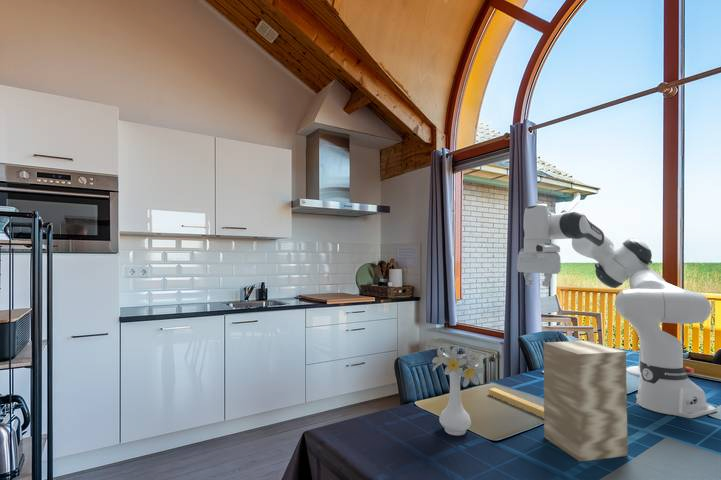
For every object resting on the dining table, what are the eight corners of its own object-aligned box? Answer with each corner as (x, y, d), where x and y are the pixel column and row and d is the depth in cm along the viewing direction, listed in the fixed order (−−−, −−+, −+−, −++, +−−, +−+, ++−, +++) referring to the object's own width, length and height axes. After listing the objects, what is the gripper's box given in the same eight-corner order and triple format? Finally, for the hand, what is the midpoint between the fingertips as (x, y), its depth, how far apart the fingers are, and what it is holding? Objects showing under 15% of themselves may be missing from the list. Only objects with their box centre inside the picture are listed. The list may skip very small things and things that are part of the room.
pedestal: (587, 432, 113) (586, 340, 113) (627, 455, 100) (625, 351, 101) (544, 437, 110) (543, 342, 110) (579, 461, 97) (578, 354, 98)
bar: (494, 394, 144) (494, 387, 144) (553, 419, 123) (553, 411, 123) (488, 395, 142) (488, 388, 143) (547, 421, 121) (547, 413, 121)
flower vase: (462, 450, 102) (461, 357, 103) (421, 424, 118) (421, 343, 118) (497, 440, 108) (496, 352, 109) (453, 416, 123) (453, 339, 124)
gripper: (512, 248, 156) (512, 283, 155) (547, 246, 136) (548, 287, 135) (526, 248, 157) (527, 283, 156) (563, 247, 137) (564, 287, 136)
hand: (537, 285), depth 145 cm, fingers open, 8 cm apart
